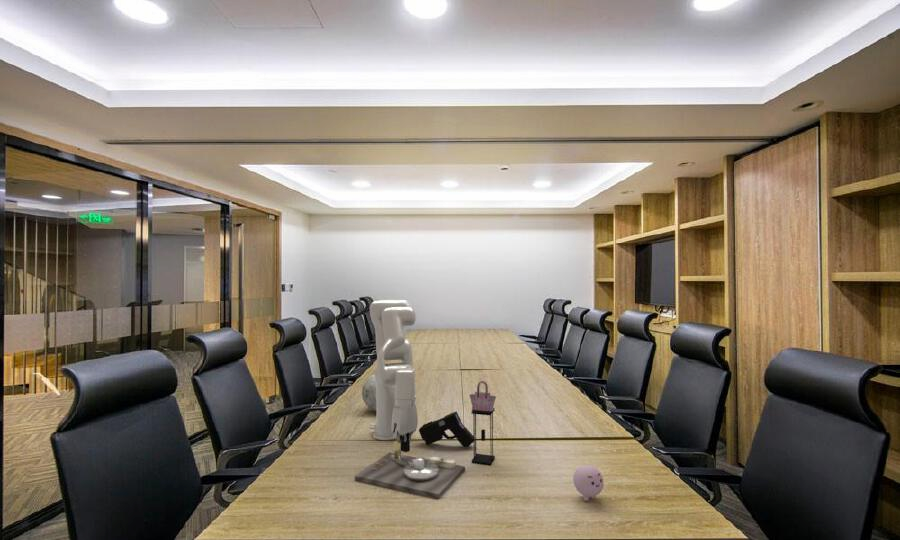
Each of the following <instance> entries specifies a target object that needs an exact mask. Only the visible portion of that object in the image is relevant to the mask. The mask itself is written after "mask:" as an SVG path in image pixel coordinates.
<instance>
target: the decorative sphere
mask: <svg viewBox="0 0 900 540" xmlns="http://www.w3.org/2000/svg"><path fill="white" fill-rule="evenodd" d="M392 388H393V389H394V390H395V385H393V386H392ZM361 389H362V390H361V397H362V400H363V402H364V404H365V405H366V406H367V408H368V409H370V410H372V411H374V412H376V384H375V377H374V373H372V374H371V375H369V377H368V378H367V379H366V380H365V382H364V384H363V385H362V388H361Z"/></svg>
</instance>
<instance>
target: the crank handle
mask: <svg viewBox="0 0 900 540" xmlns="http://www.w3.org/2000/svg"><path fill="white" fill-rule="evenodd" d="M393 443H394V444H393V446H394V447H393V449H394V450H393V451H394V455H391V459H393V460H395V461H396V462H397V463H399V464H401V465H403V466H405V468H404V476H405V477H406V478H408V479H410V480H414V481H426V480H431V479H433V478H435V477H436V476H438V474H439V467H438V466H437V465H436V464H434V463H432V462H426V461H424V459H425V457H424V456H421V455H420V456H413V457H414V458H413V463H412V462H409V461H407V460H405V459H403V458H401V455H402V451H401V441H400V440H395V441H393Z"/></svg>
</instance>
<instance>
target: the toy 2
mask: <svg viewBox="0 0 900 540" xmlns="http://www.w3.org/2000/svg"><path fill="white" fill-rule="evenodd" d="M572 478H573V479H572V481H573V486H574V487H575V489H576V491H578V493H579V494H580V495H582V496H583V501H585V502H588V501H589V499H592V500H594V499H596V496H598V495H600V493H602V491H603V488H604V481H605V480H604V478H603V475H602V473H601V472H600V471H599V469H598V468H596V467H595V466H594V465H589V464H583V465H580V466H578V467H577V468H576V469H575V471H574V474H573V476H572Z"/></svg>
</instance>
